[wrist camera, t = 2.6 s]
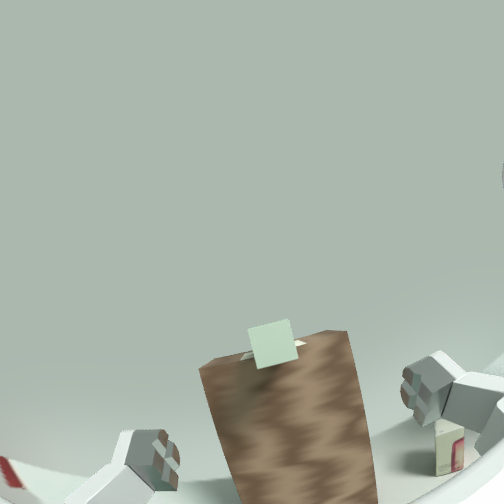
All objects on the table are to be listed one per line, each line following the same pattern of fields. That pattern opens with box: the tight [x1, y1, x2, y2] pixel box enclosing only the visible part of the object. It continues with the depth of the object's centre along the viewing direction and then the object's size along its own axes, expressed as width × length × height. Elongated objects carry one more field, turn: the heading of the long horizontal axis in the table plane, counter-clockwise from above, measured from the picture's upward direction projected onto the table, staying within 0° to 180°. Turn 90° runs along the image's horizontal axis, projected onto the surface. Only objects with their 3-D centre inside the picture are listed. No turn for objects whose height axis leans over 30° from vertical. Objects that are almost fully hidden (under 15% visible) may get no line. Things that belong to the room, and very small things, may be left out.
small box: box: [435, 419, 464, 476], centre depth 23 cm, size 5×4×8 cm
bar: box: [248, 319, 299, 369], centre depth 30 cm, size 3×22×3 cm, turn 177°
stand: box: [199, 330, 378, 504], centre depth 29 cm, size 16×10×26 cm, turn 87°
